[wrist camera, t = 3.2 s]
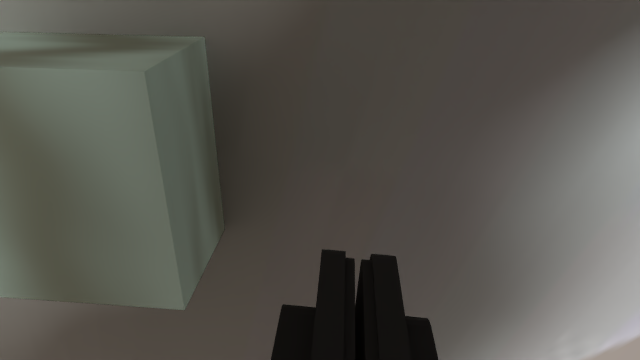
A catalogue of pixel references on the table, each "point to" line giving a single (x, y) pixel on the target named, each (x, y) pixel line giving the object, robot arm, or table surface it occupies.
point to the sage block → (106, 168)
